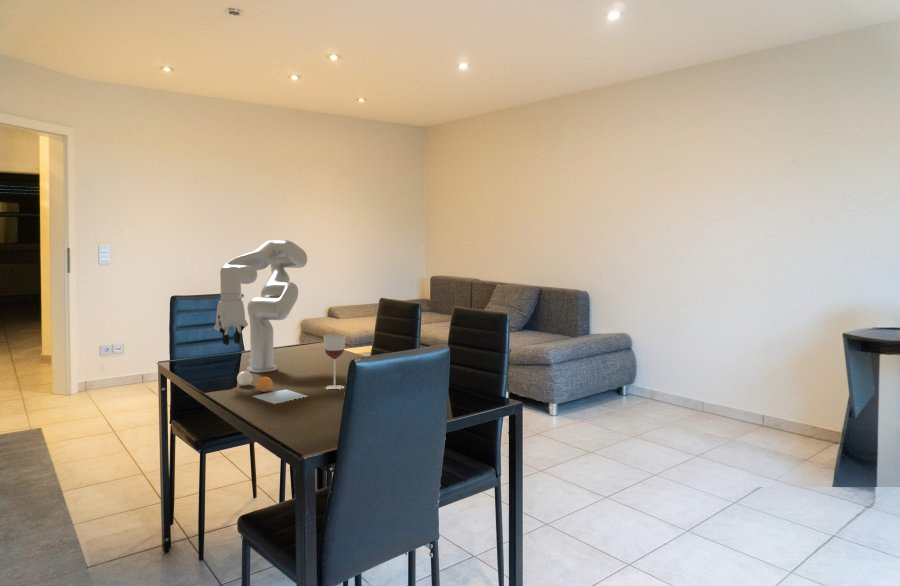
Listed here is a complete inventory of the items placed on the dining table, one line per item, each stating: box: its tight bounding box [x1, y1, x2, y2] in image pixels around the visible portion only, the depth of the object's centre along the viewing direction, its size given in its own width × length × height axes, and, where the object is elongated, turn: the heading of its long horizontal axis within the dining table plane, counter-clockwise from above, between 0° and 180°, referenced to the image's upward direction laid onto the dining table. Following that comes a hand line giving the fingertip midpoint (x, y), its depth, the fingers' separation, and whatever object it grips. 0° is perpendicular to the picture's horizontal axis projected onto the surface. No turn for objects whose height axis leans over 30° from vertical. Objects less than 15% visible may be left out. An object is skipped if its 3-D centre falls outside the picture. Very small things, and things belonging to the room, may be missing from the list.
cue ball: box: [236, 370, 253, 387], centre depth 223 cm, size 6×6×6 cm
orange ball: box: [256, 376, 274, 393], centre depth 214 cm, size 6×6×6 cm
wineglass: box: [323, 333, 346, 390], centre depth 222 cm, size 8×9×20 cm
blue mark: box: [252, 389, 309, 405], centre depth 208 cm, size 14×14×1 cm
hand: (231, 343), depth 228 cm, fingers open, 3 cm apart
